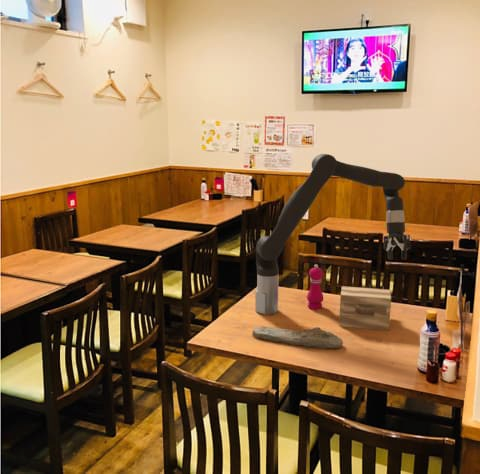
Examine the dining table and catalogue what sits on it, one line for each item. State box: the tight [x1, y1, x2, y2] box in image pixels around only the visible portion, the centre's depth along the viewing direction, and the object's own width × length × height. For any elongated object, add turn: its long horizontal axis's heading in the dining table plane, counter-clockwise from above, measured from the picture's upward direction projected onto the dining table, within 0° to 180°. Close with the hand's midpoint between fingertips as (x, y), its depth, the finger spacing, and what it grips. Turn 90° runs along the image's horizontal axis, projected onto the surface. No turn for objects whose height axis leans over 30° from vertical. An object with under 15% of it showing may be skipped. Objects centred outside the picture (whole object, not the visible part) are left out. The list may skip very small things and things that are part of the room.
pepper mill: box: [306, 264, 324, 310], centre depth 226 cm, size 7×7×20 cm
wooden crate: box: [338, 285, 392, 331], centre depth 209 cm, size 11×20×14 cm, turn 76°
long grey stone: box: [252, 325, 344, 350], centre depth 195 cm, size 35×5×10 cm
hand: (397, 259), depth 216 cm, fingers open, 8 cm apart
